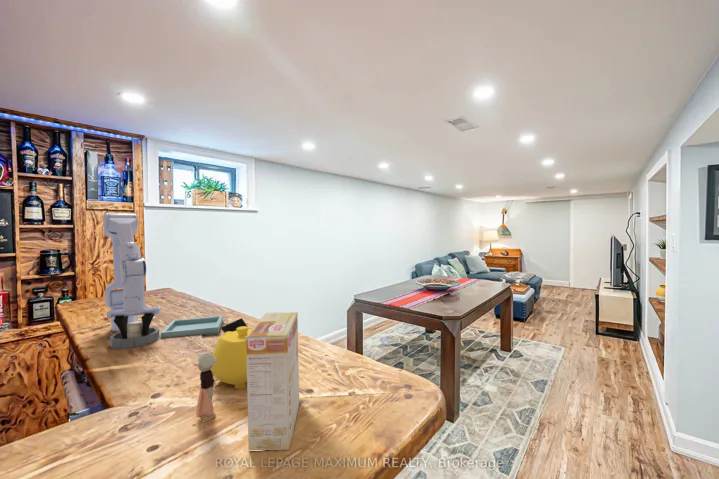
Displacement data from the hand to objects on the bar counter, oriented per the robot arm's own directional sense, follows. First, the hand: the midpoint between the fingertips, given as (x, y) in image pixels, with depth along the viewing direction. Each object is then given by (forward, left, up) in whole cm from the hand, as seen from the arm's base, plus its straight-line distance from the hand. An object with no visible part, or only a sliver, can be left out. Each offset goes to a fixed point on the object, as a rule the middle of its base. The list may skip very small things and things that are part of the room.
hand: (135, 337), depth 103 cm
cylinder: (0, 0, -1) cm, 1 cm away
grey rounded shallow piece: (0, 0, -2) cm, 2 cm away
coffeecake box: (+60, +42, -2) cm, 73 cm away
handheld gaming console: (+7, +34, -3) cm, 35 cm away
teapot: (+39, +36, -2) cm, 53 cm away
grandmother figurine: (+53, +29, -2) cm, 60 cm away
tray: (-9, +16, -2) cm, 18 cm away
